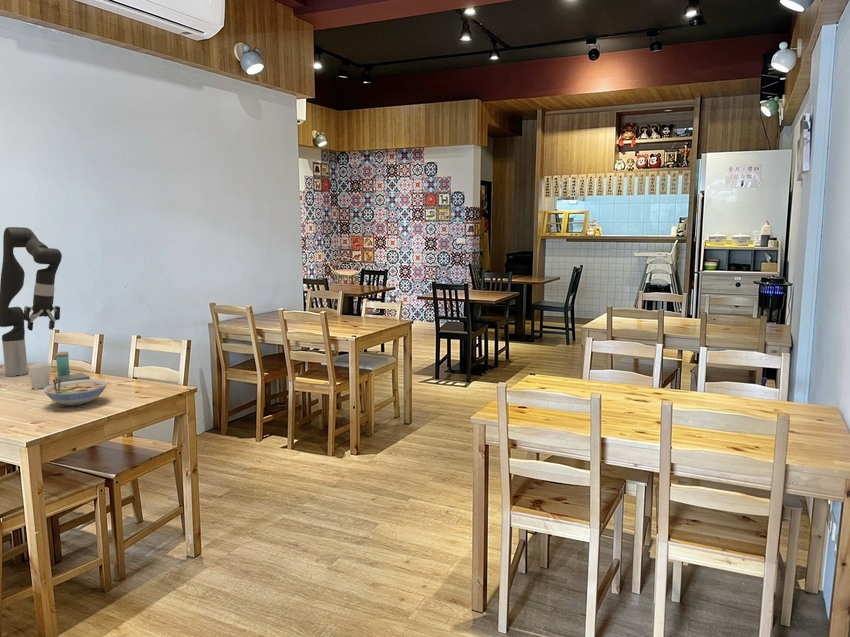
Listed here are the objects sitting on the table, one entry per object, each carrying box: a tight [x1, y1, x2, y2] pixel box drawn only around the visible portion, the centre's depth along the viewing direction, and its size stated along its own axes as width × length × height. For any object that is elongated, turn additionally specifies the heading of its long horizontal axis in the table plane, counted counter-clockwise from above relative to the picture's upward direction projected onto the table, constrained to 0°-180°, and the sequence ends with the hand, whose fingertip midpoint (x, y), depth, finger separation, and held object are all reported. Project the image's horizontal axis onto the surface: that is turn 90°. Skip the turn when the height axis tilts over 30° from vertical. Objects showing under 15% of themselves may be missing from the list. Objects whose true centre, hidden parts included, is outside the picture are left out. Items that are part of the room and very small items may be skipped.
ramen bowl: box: [42, 379, 108, 407], centre depth 252 cm, size 25×23×8 cm
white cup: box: [28, 363, 51, 390], centre depth 278 cm, size 8×8×10 cm
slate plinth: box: [54, 372, 91, 384], centre depth 285 cm, size 11×11×4 cm
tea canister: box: [55, 351, 71, 377], centre depth 292 cm, size 5×5×13 cm
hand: (40, 329), depth 272 cm, fingers open, 8 cm apart
